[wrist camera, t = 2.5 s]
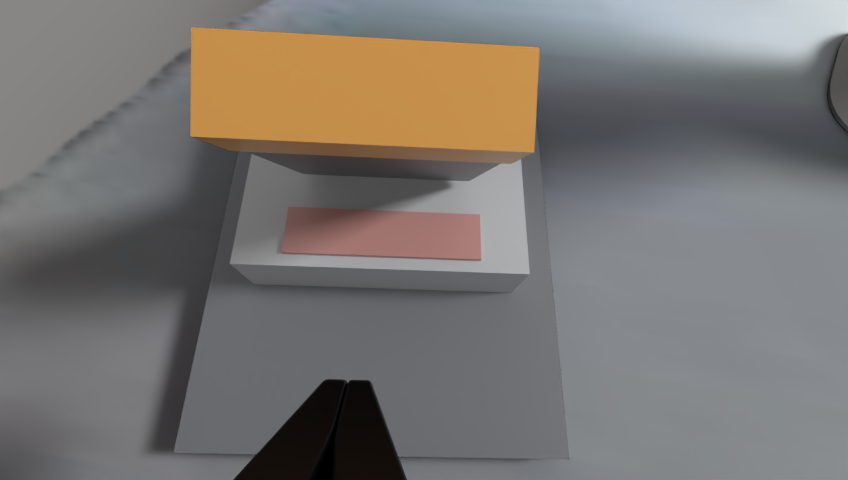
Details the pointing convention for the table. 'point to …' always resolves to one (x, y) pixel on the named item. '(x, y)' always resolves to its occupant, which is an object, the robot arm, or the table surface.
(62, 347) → the table surface
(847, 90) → the handheld scanner
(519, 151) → the lever
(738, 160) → the table surface
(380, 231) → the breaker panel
